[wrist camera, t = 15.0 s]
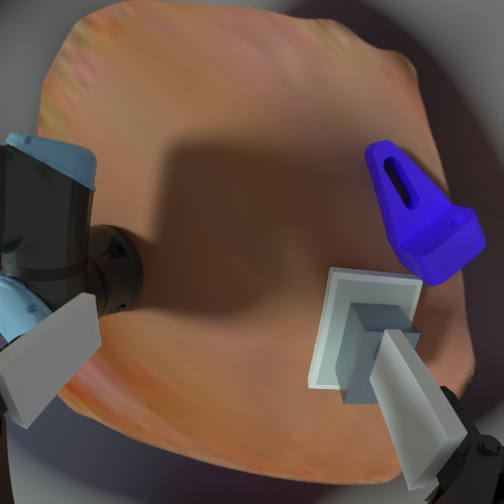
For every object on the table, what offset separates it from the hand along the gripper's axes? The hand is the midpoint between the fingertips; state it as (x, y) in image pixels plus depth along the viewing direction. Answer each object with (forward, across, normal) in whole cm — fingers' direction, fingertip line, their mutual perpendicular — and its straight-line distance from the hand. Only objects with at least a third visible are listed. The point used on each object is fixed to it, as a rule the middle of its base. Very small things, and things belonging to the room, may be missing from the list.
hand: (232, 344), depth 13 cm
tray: (+33, +18, -16) cm, 41 cm away
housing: (+30, +18, -16) cm, 38 cm away
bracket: (+33, +20, +6) cm, 39 cm away
